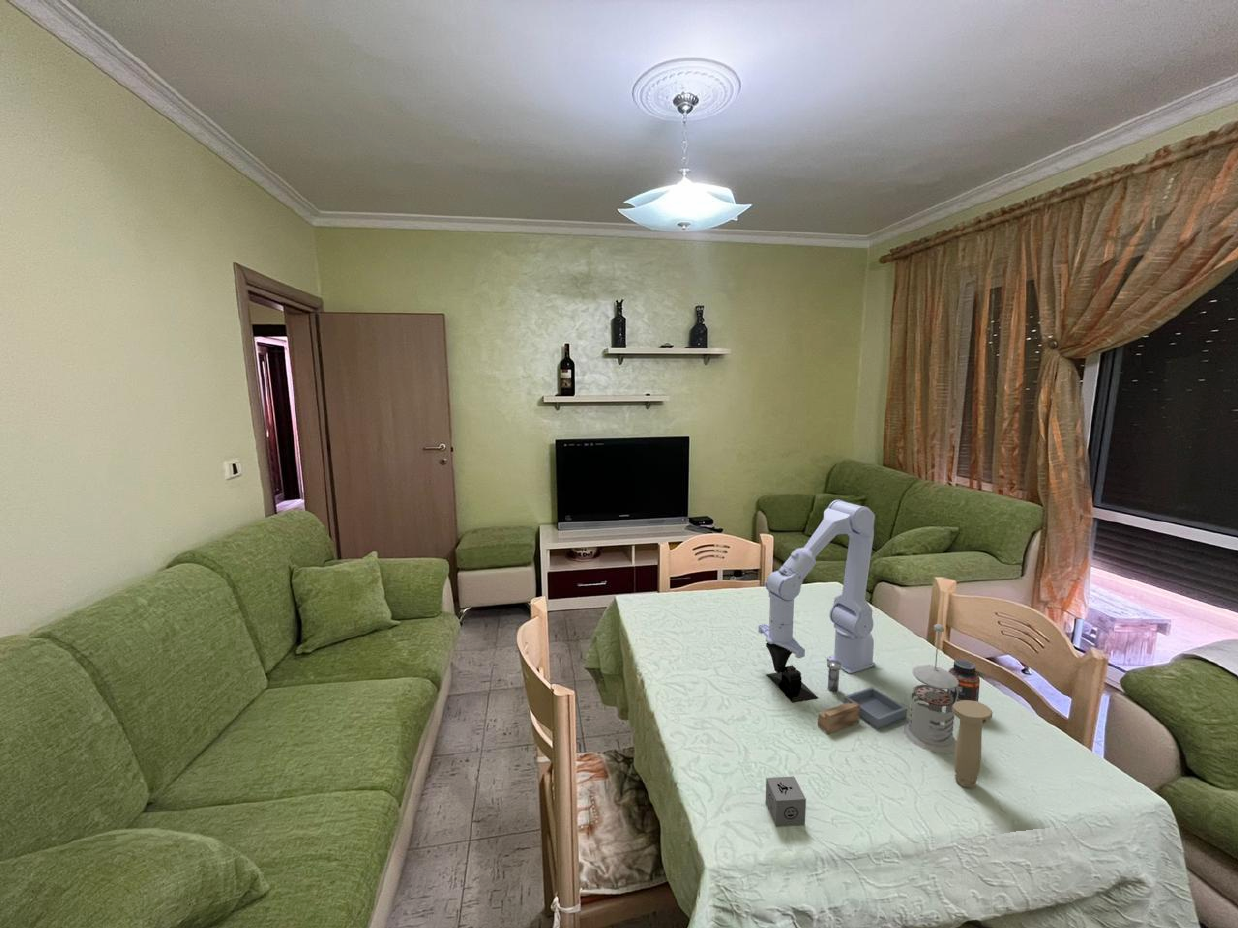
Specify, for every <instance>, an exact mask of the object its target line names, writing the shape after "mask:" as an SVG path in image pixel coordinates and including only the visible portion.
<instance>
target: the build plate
mask: <svg viewBox="0 0 1238 928" xmlns="http://www.w3.org/2000/svg"><path fill="white" fill-rule="evenodd" d="M765 676H766V677H767V678H768V679H769V680H770V681H771V682H772V683H773V684H774V685H775V686H776V687H777V688H778V689H779V691H781V693H782V694H783V695H784V696H785V697H786V698H787V699H788V701H790V703H793V704H795V703H801V702H806V701H811V700H812V701H813V700H818V699H819V697H818V696H817V694H815V693H814V691H812V690H811V689H810V688H809V687H808V686H807V685H806V684H805V683H803V681H802V678H803V677H802V673H801V671H799V669H797V668H796V667H795V666H794V665H793V664H791V665H787V666H785V667H783V669H782V672H780V673H777V672H771V673H766V674H765Z"/></svg>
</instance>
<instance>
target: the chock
mask: <svg viewBox="0 0 1238 928" xmlns="http://www.w3.org/2000/svg"><path fill="white" fill-rule="evenodd" d="M859 715H860V704H858V703H857V702H854V703H851V704H850V703H849V702H848V703H845V704H844V703H843V704H842V703H841V704H840V705H837V706H834V707H832V708H829V709H826V710H822V711H819V712H818V713H817V727H819V728H820V729H821V730H823V731H824V732H825V733H826V734H828V735H829V734H832V733H834V732H838V731H840V730H843V729H845V728H848V727H851V726H853V725H857V724H858V723H860V717H859Z"/></svg>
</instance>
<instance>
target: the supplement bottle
mask: <svg viewBox="0 0 1238 928" xmlns="http://www.w3.org/2000/svg"><path fill="white" fill-rule="evenodd" d="M948 672H949V673H951V674H952V675H954V676H955V677H956V678H957V680H958V689H959V691H958V699H957V701H962V700H971V701H977V702H979V697H980V696H979V695H980V683H981V681H980V677H979V675H978V673H976V664H974V663H973V662H971V661H969V660H967V659H958V658H957V659H955V660H954V661H953V666H952V667H951V668H949V670H948ZM946 692H948V693H949V689H948V690H946ZM950 694H951V695H952V697H953V698H954V702H953V703H955V700H956V697H957V686H956V687H955V688H954V689H951V691H950Z"/></svg>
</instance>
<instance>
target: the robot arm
mask: <svg viewBox="0 0 1238 928" xmlns="http://www.w3.org/2000/svg"><path fill="white" fill-rule="evenodd" d="M875 520H876V514H874V512H873V511H872V510H871V509H870V508H869V507H868V506H864V505H863V506H862V505H859V504H855V503H850V502H848V501H847V502H846V501H844V500H842V499H835V500H833V501H832V502H830V503H829V505H828V506H827V508H825V510H824V511H823V519H822V521H821V523H820V524H819V525H818V527H817V528H816V530H815V531H814V532H813V534H812V535H811V537H810V538H808V541H807V543H805V545H804V546H803V547H801V548H796V549H795V550H793V551H792V552H791V554H790V556H789V557H788V559H786V561H785V562H783V564H782V566H780V567H779V569H778V570H776V571H773V572H771V573H770V574H769V575H768V577H767V579H766V581H765V582H764V586H765V588H766V590H767V592H768V598H769V615H768V618H769V619H768V625H767V624H766V623H764V624H759V625H758V631H757V632H758V633H759V634H763V635H764V636H765V637H766V638H765V642H766V643H765V646H766V648H767V650H768V652H769V655H770V657H771V661H772V664H773V669H774V671H775V673H780V672H782V669H783V667H786V665H788V664H787V663H788V661H789V659H790V657H791V656H792V654H794V655H795V658H797V659H801V658H804V657H805V656H806V655H805V653H806V651H805V650H806V649H805V648H804V647H803V646H801V645H800V644H799V642H798V641H797V640H796V639H795V638H794V613H795V612H794V611H795V610H794V608H795V599H796V598H797V597H798V596H799V594H800V592H801V587H802V585H803V583H804V582H803V581H804V579H805V578H806V577H807V575H808V574H809V573H810V572H811V571H812V569H813V568H814V567H815V566H816V563H817V561H816V560H817V559H816V557H817V556H818V554H819V553H821V552H822V550H823V549H825V547H826V546H827V545H828V544H829V543H830V542H831V541H832V540H833V539H834V538H835V537H836V536H837V535H847V536H848V538H849V542H848V548H847V556H846V562H845V571H844V578H843V584H842V585H843V586H842V593H841V594H840V595H837V596H835V597H834V600H833V604H832V606H831V608H830V609H829V620H830V621H831V622H832V623H833V628H834V629H835V632H834V633H835V634H834V654H833V655H831V656H828V657H827V656H826V660H827V661H829V660H835V661H838V662H840V663H841V670H842V671H845V672H847V674H852V673H856V672H859V671H862V670H866V669H868V668H871V667H875V666H876V663H875V662H874V649H875V647H874V646H875V642H874V637H873V635H872V631H873V630H874V629H873V628H874V618H873V609H872V607H871V606H870V604H869V603H868V601H867V600H866V592H867V586H868V581H869V580H868V579H869V571H870V563H871V559H872V558H871V557H872V550H873V545H874V543H873V542H874V536H875V530H874V526H875Z"/></svg>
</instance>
